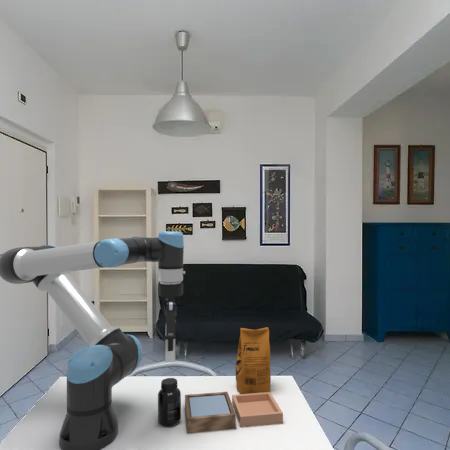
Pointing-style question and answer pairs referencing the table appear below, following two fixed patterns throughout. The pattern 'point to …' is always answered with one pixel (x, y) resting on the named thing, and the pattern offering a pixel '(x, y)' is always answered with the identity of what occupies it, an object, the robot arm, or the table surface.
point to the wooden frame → (210, 416)
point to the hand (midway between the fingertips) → (169, 352)
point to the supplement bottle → (169, 403)
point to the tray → (256, 409)
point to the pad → (208, 405)
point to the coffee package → (253, 361)
